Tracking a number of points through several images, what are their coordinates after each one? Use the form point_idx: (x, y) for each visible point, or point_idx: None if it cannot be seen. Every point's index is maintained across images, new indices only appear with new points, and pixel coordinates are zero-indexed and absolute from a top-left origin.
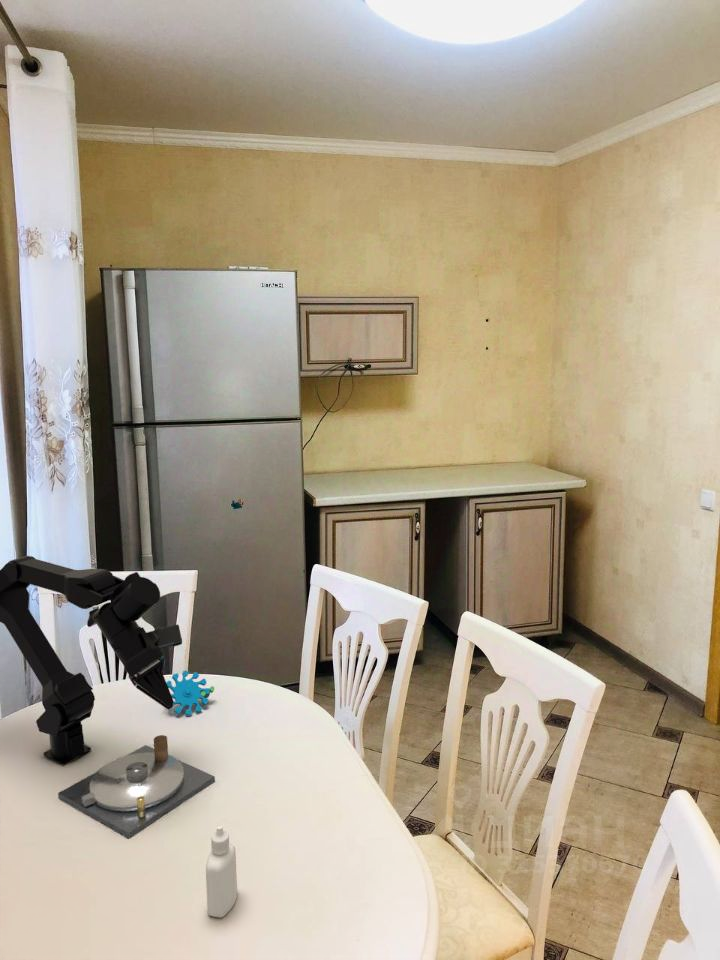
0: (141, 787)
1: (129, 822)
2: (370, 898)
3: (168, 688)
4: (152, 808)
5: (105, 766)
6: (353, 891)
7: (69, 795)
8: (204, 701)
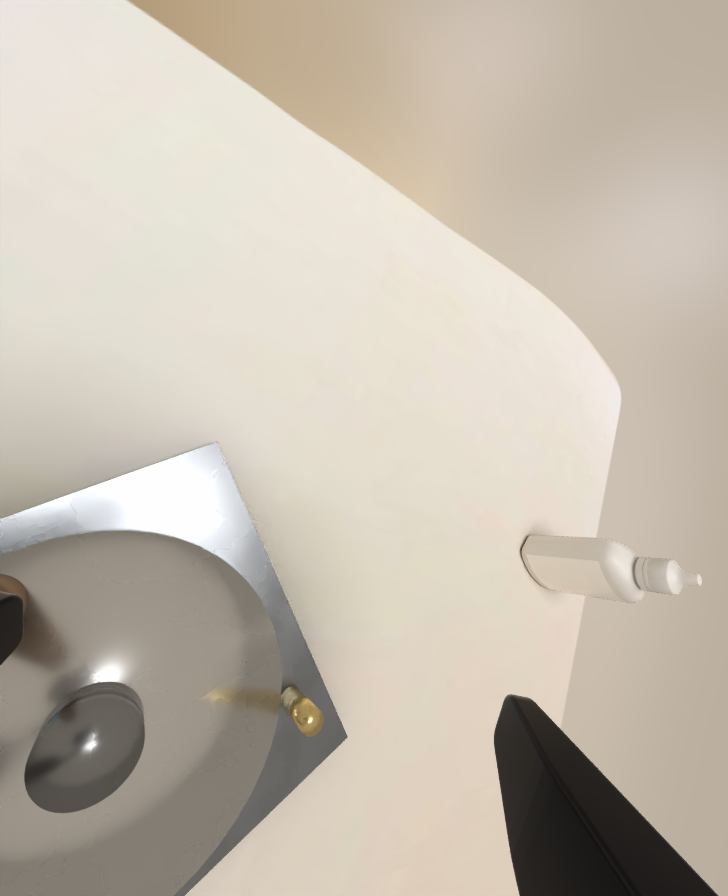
0: (188, 709)
1: (306, 736)
2: (574, 388)
3: (686, 866)
4: None
5: None
6: (563, 397)
7: None
8: None
